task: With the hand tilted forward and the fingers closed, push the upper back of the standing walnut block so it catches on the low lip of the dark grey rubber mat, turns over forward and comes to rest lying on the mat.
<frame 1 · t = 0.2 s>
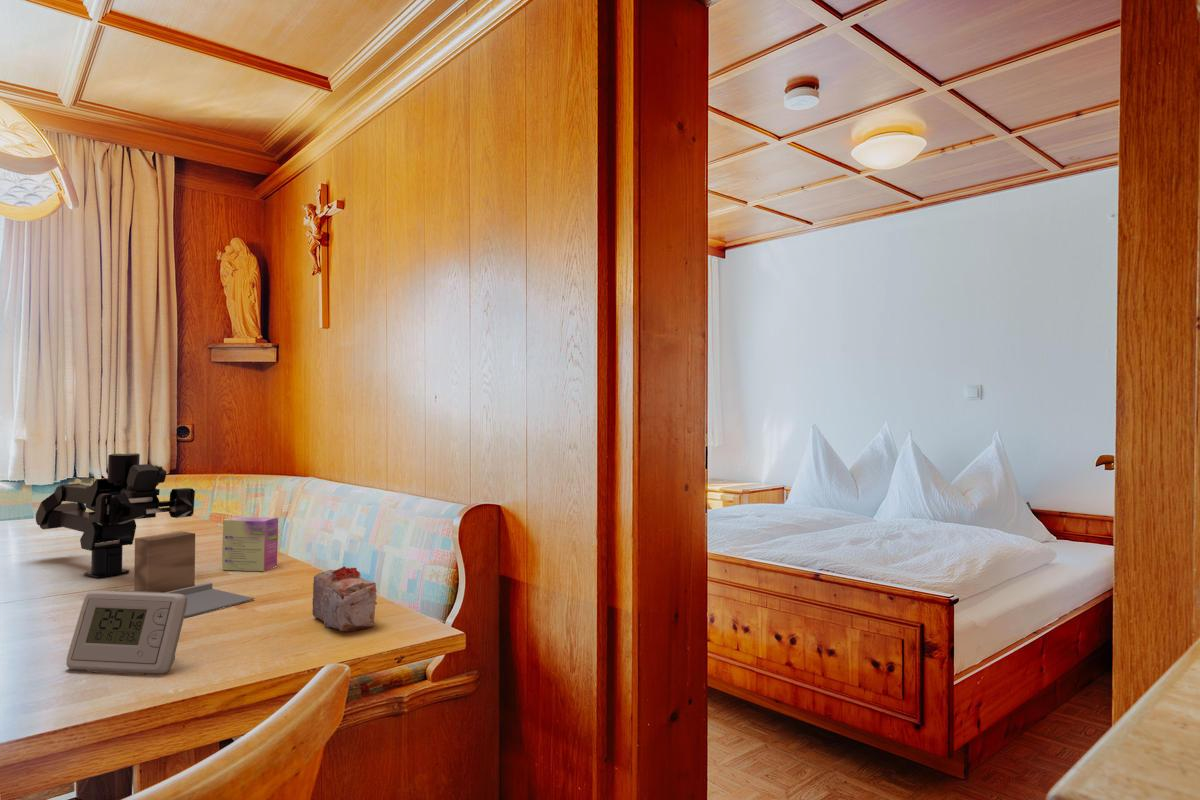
hand: (169, 510, 144), 16 cm above the table, tool horizontal, fingers open, 9 cm apart
digital clock: (127, 669, 102), on the table
box: (250, 569, 163), on the table
walnut block: (164, 595, 140), on the table
food item: (342, 625, 123), on the table
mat: (196, 603, 134), on the table
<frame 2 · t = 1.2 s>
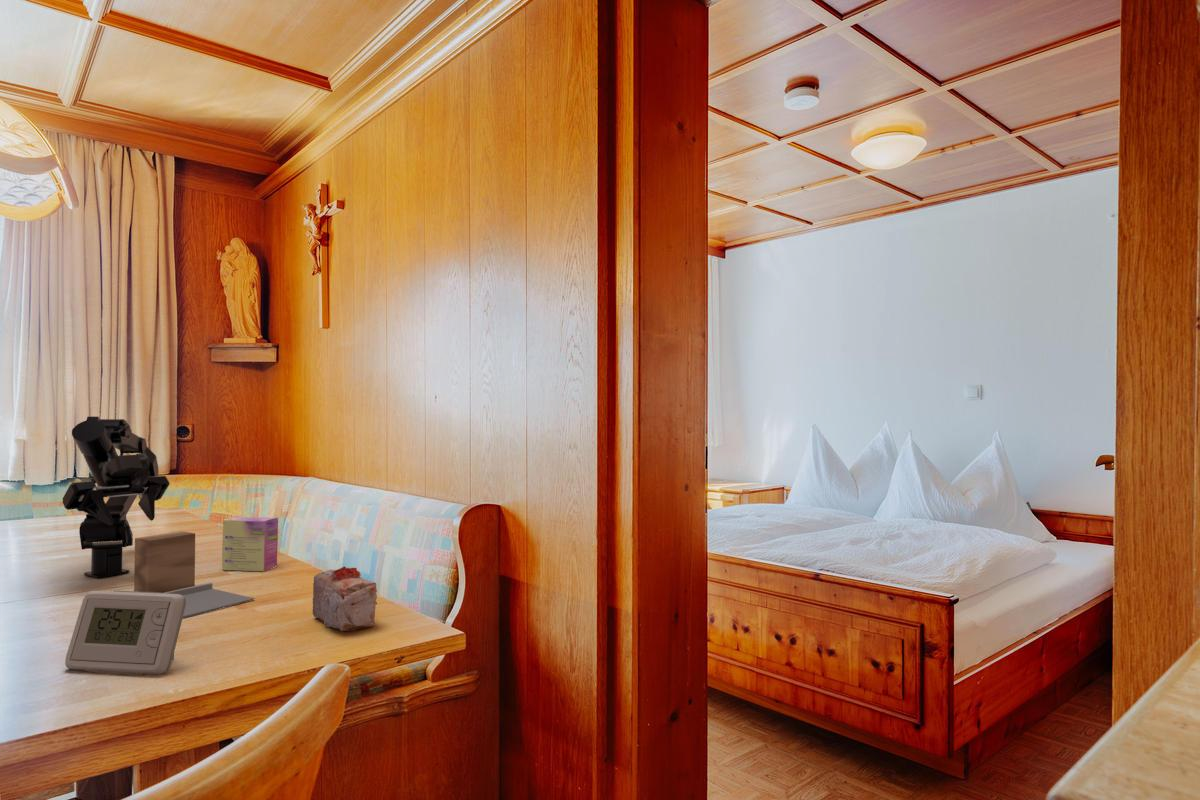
hand: (132, 521, 146), 14 cm above the table, tool tilted 45°, fingers open, 8 cm apart
nothing on the table moved.
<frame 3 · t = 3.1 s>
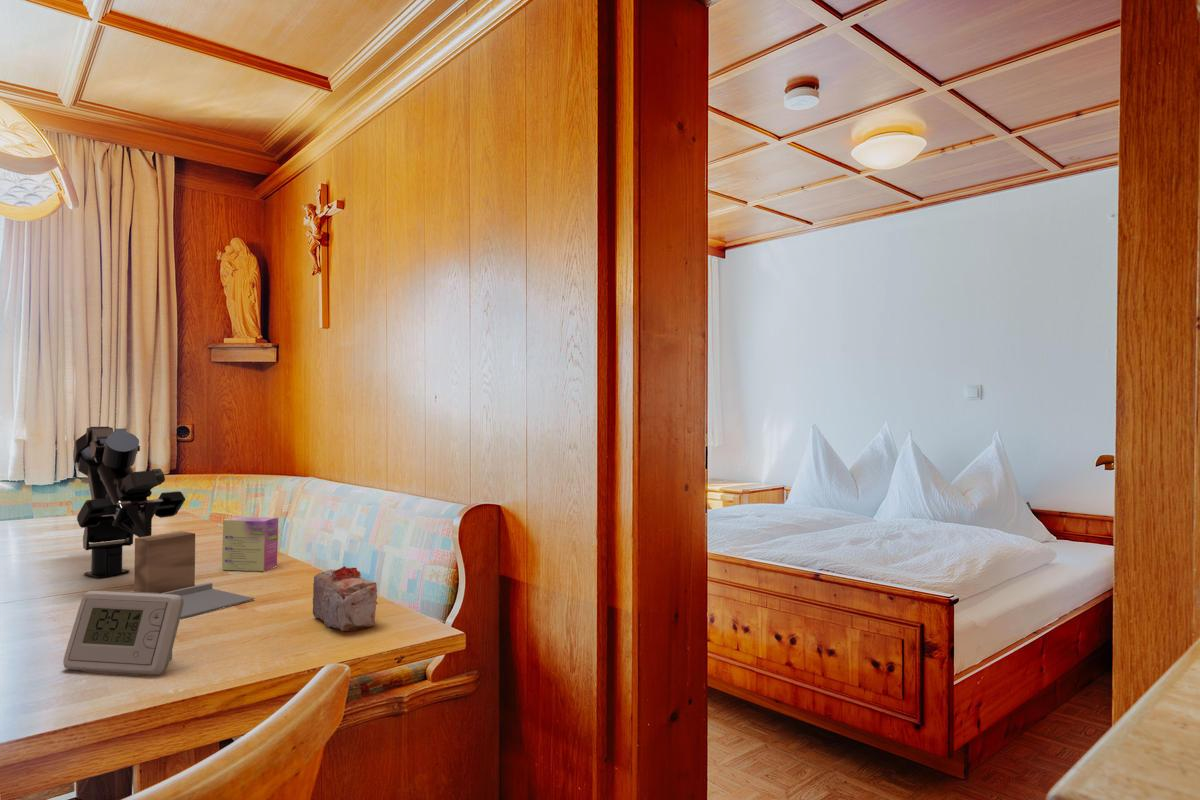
hand: (148, 539, 143), 11 cm above the table, tool tilted 45°, fingers closed
nothing on the table moved.
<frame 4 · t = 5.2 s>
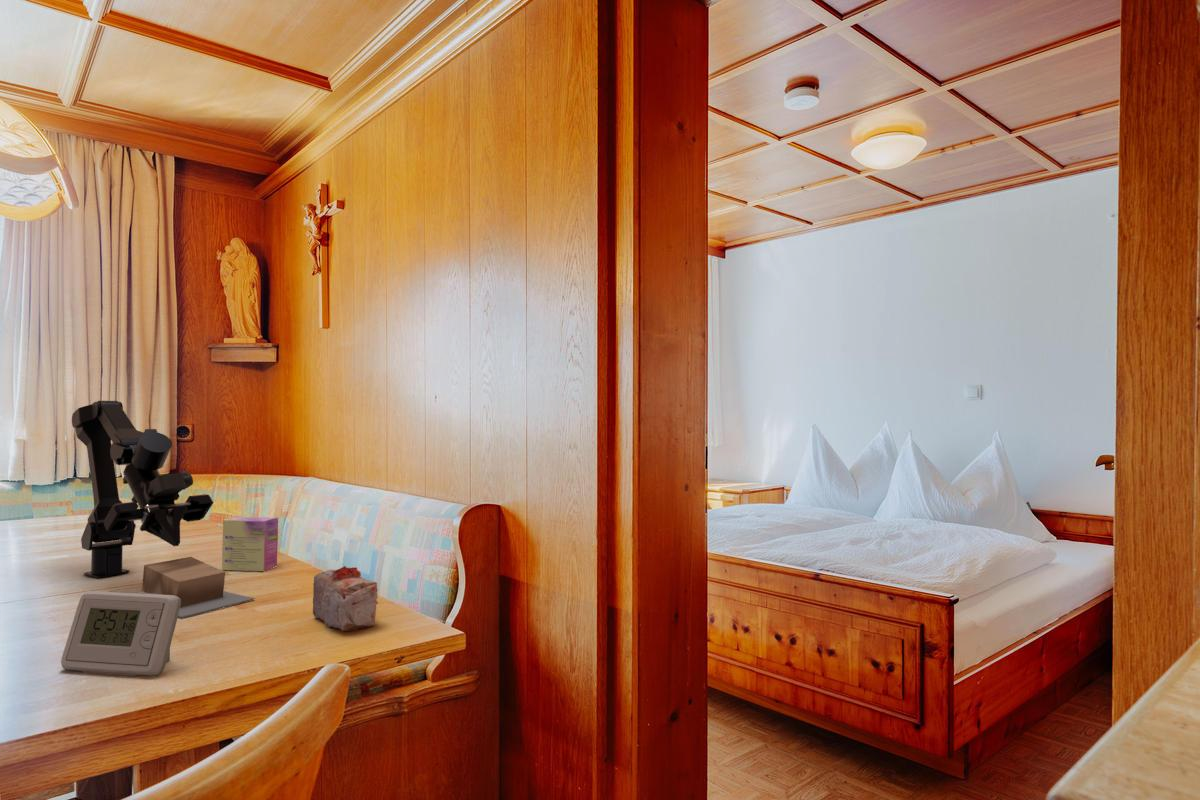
hand: (177, 544, 138), 11 cm above the table, tool tilted 45°, fingers closed
walnut block: (167, 573, 140), point 5 cm above the table, tilted 98°, touching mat
everything else where it was.
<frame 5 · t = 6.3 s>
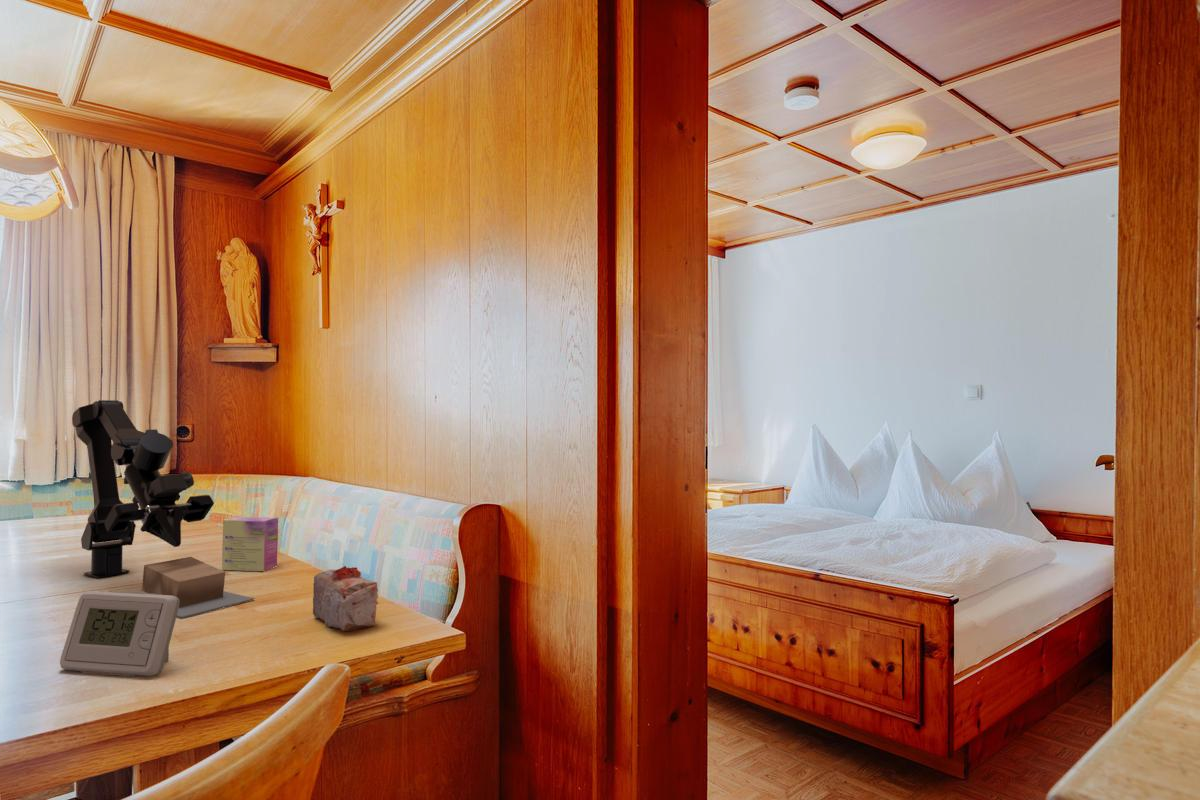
hand: (178, 545, 138), 10 cm above the table, tool tilted 45°, fingers closed
nothing on the table moved.
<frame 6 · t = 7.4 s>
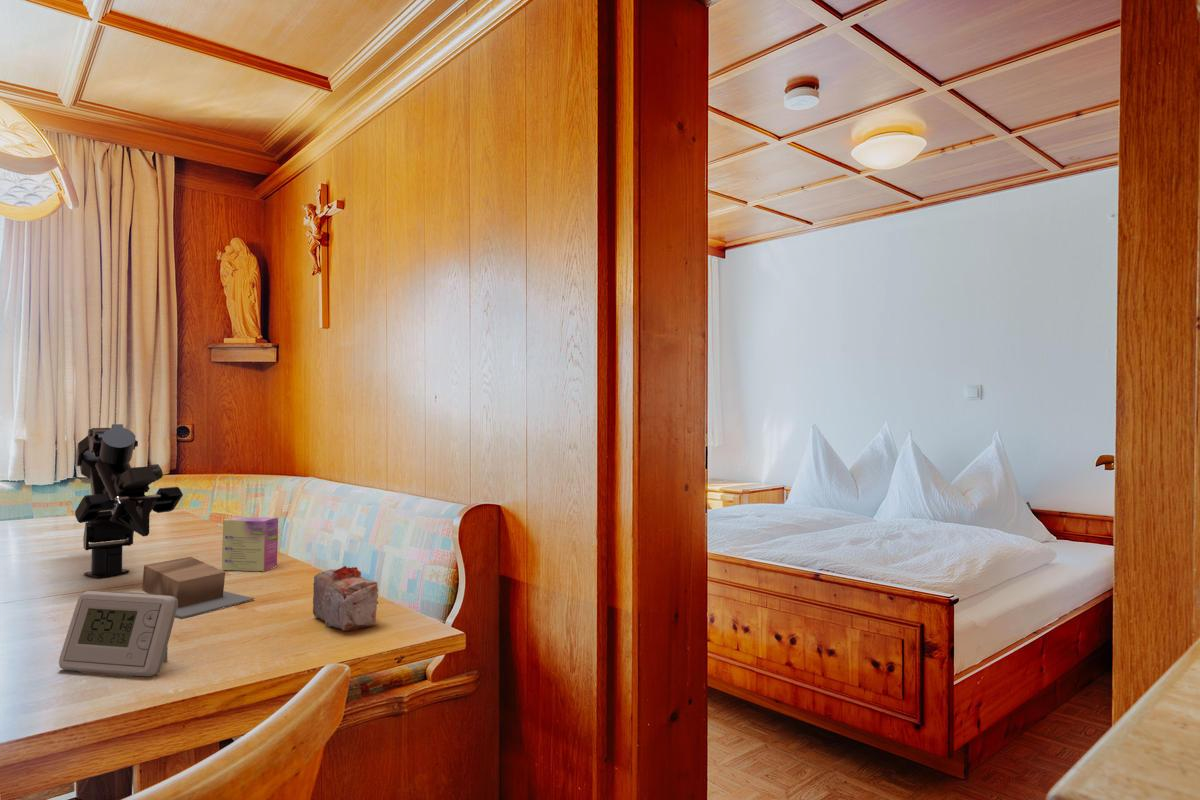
hand: (146, 534, 144), 11 cm above the table, tool tilted 45°, fingers closed
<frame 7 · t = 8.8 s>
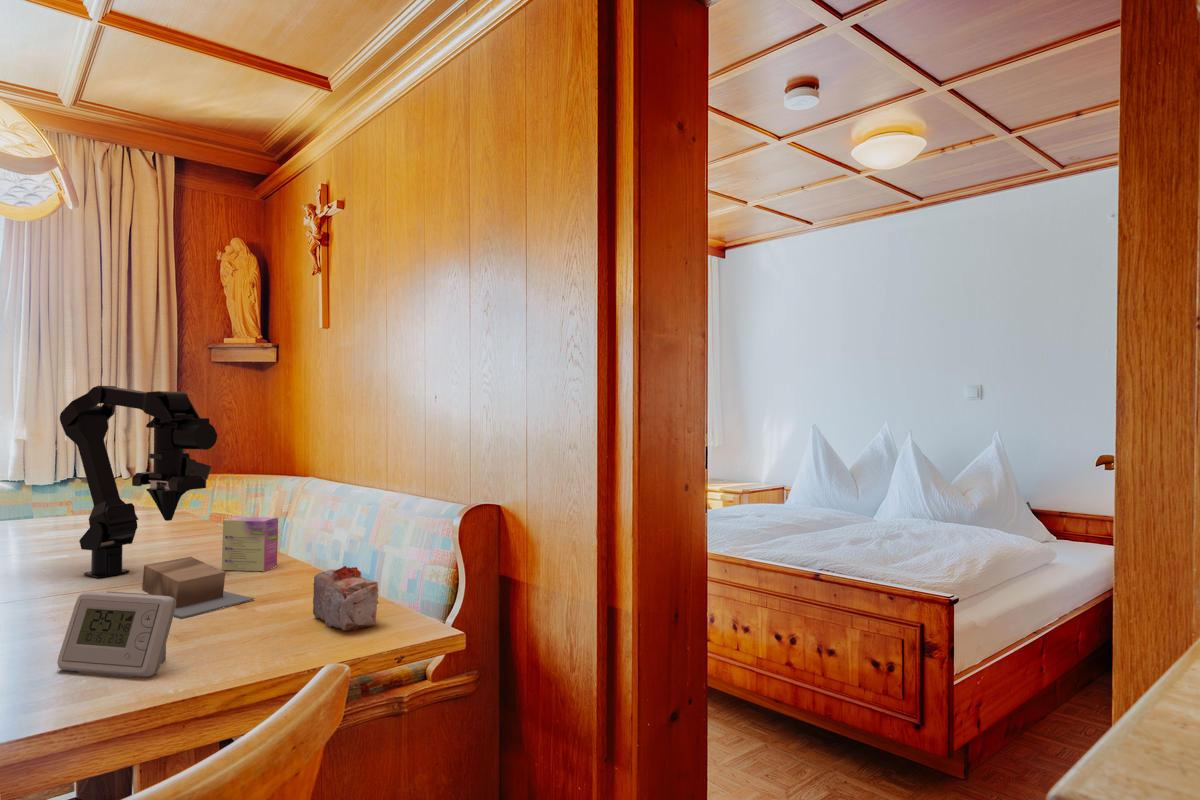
hand: (168, 520, 152), 13 cm above the table, tool pointing down, fingers closed
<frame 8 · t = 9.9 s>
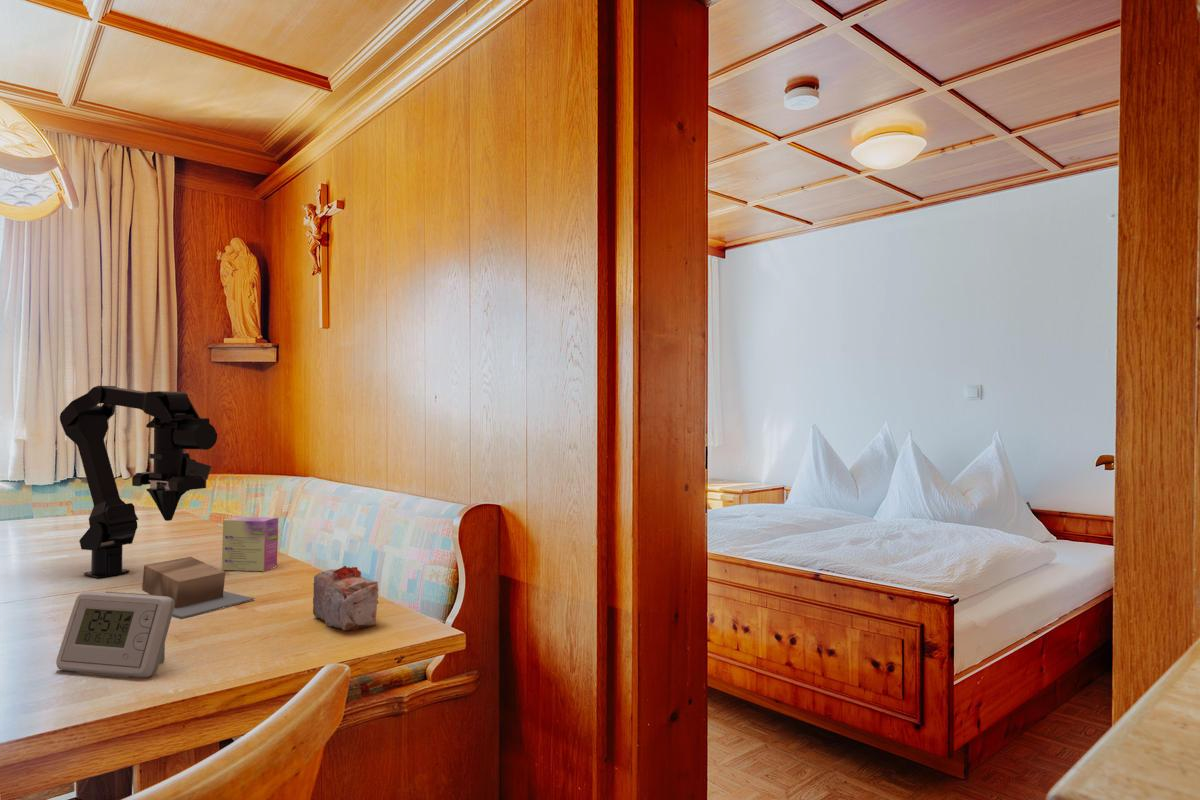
hand: (168, 520, 152), 13 cm above the table, tool pointing down, fingers closed
at the end: walnut block tilted 98°; walnut block inside the target area (9.3 cm from its centre), point 4.6 cm above the table; the gripper is holding nothing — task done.
